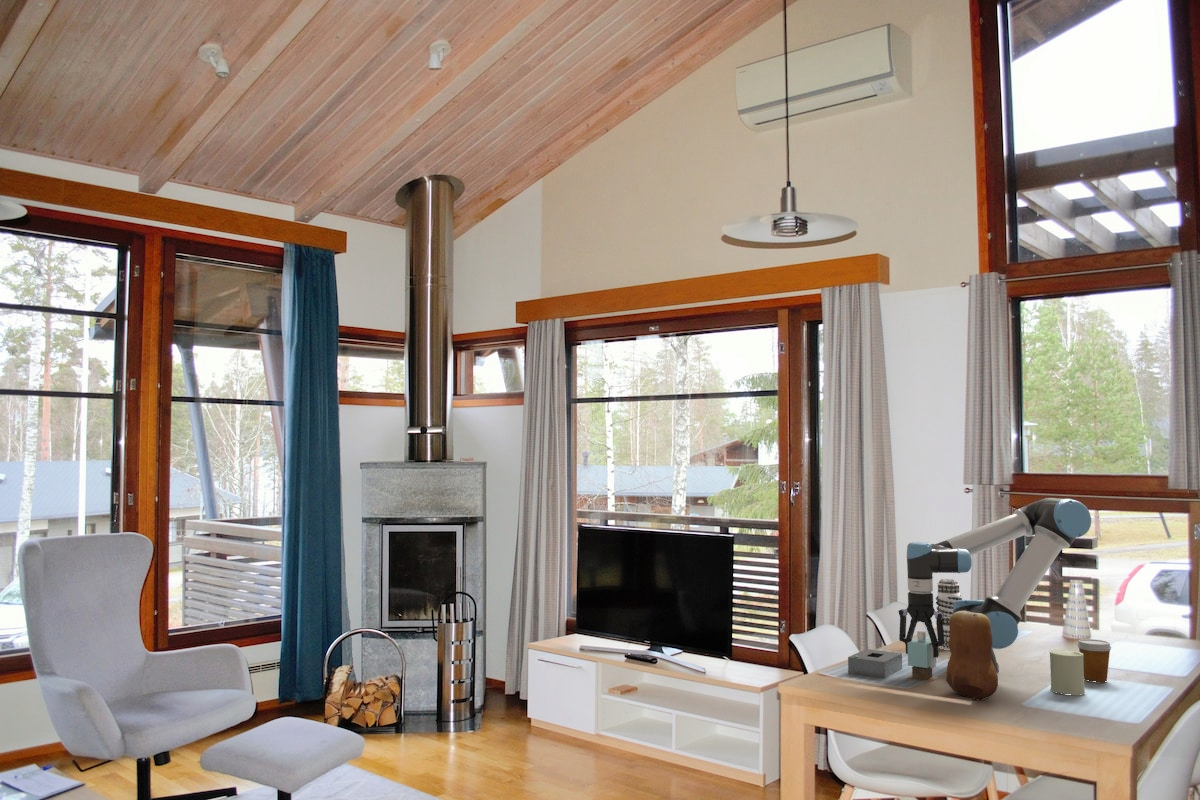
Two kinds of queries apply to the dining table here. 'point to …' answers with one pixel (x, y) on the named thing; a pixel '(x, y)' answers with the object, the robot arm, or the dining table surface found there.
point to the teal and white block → (919, 651)
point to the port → (875, 663)
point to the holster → (922, 674)
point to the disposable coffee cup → (1095, 659)
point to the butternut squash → (971, 656)
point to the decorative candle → (947, 604)
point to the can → (1067, 672)
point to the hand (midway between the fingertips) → (922, 666)
